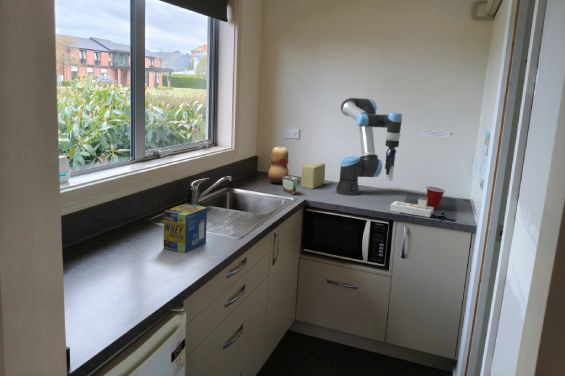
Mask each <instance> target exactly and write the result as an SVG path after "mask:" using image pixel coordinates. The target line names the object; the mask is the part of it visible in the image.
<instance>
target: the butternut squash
mask: <svg viewBox="0 0 565 376" xmlns="http://www.w3.org/2000/svg"><path fill="white" fill-rule="evenodd" d="M288 164H289V150H288V149H287V148H286V147H284V146H275V147H274V148H272V150H271V155H270V168H269V170H268V173H267V177H268V179H269V181H270V182H271V183H274V184H283V179H282V177H283V176H289V169H288Z"/></svg>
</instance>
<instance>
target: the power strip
mask: <svg viewBox="0 0 565 376" xmlns="http://www.w3.org/2000/svg"><path fill="white" fill-rule="evenodd" d="M417 206H418V204H416V203H410V202H409V203H408V202H403V201H397V200H395V201H393V202H392V203H390V207H389V211H391V212H397V213H402V214H403V213H404V214H409V215H415V216H421V217H426V218H431V217H432V215H433V217H438V216H444V217H445V219H446V218H447V215H445V214H439V213H434V210H435V209H434V207H428V205H427V209H421V208H417ZM444 217H443V218H444Z"/></svg>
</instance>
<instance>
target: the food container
mask: <svg viewBox="0 0 565 376" xmlns="http://www.w3.org/2000/svg"><path fill="white" fill-rule="evenodd" d="M282 179H283V183H282V192H283V191H284V192H283V193H285V192H286V193H285V194H288V193H289V194H288V195H290V194H291V196H294V195H296V190H297V183H298V182H299V180H298V177H296V176H291V175H288V176H283V177H282Z"/></svg>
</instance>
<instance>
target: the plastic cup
mask: <svg viewBox="0 0 565 376" xmlns="http://www.w3.org/2000/svg"><path fill="white" fill-rule="evenodd" d="M425 188H426V193H427V194H426V196H427V197H426V198H428V201H427V206H428V207H434V209H433V210H438V209H439V206H440V204H441V201H442V199H443V195H444V193H445V192H446V190H445V189H443V188H440V187H435V186H426V187H425Z"/></svg>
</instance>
